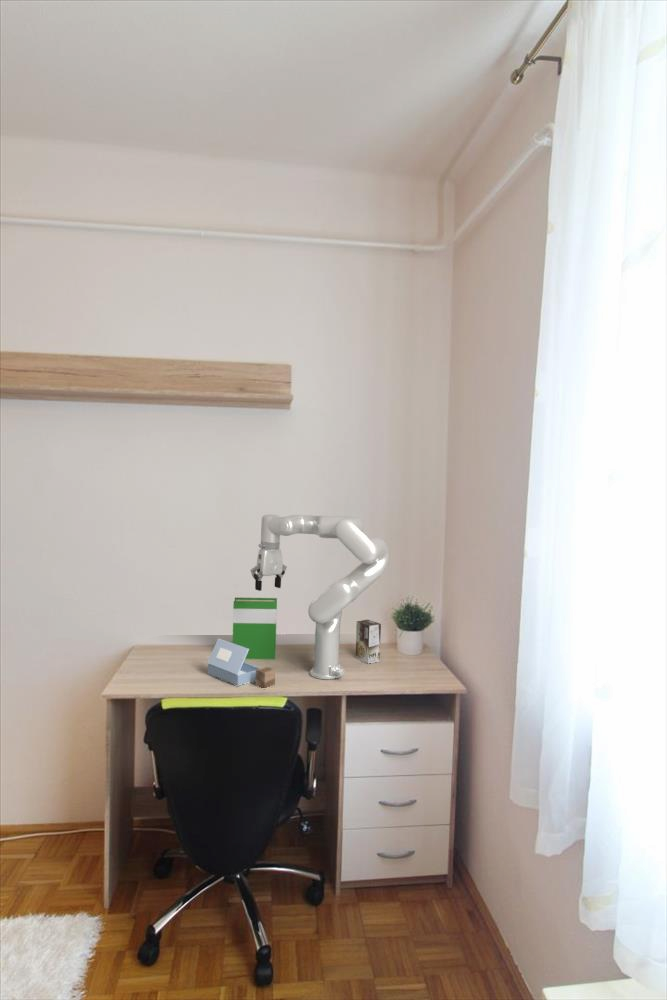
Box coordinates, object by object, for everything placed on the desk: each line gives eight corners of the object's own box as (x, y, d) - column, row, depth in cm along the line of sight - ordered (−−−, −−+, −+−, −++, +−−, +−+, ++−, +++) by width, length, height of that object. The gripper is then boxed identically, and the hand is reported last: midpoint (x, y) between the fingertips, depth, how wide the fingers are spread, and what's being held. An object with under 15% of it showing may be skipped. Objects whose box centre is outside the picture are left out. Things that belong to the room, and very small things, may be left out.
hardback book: (232, 658, 275) (233, 601, 273) (233, 653, 282) (234, 597, 281) (275, 659, 276) (276, 602, 275) (275, 653, 284) (276, 598, 282)
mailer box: (262, 679, 251) (263, 668, 251) (237, 686, 243) (237, 675, 242) (232, 667, 264) (233, 657, 263) (207, 674, 255) (208, 664, 255)
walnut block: (274, 686, 245) (275, 670, 244) (264, 689, 241) (264, 673, 241) (265, 682, 248) (266, 667, 248) (255, 685, 244) (255, 669, 244)
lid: (249, 649, 245) (248, 648, 245) (237, 675, 242) (236, 674, 242) (219, 638, 258) (218, 638, 257) (208, 663, 255) (207, 662, 254)
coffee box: (380, 662, 277) (381, 623, 276) (368, 664, 273) (369, 625, 272) (367, 656, 285) (368, 618, 283) (354, 658, 281) (356, 620, 280)
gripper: (258, 548, 255) (256, 593, 257) (292, 546, 267) (290, 588, 269) (246, 546, 261) (244, 589, 262) (281, 543, 273) (279, 584, 274)
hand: (268, 588), depth 265 cm, fingers open, 9 cm apart
